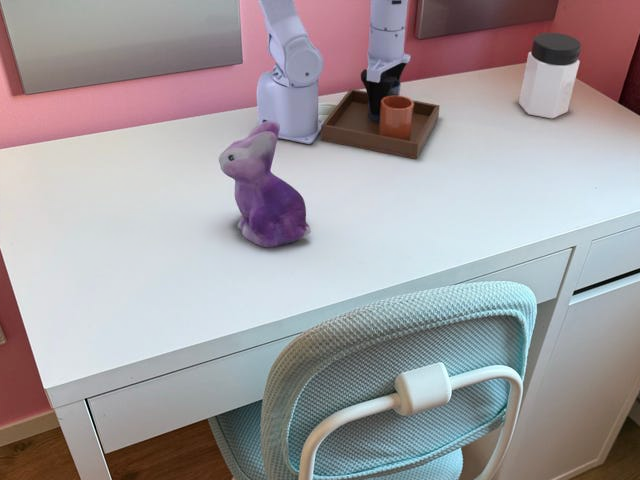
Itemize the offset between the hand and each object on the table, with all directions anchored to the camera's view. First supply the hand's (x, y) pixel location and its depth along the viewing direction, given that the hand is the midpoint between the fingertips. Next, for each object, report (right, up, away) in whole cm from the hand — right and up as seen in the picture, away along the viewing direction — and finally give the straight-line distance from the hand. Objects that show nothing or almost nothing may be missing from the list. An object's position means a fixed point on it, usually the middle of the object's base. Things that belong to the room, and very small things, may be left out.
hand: (382, 107), depth 124 cm
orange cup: (+2, -6, -4) cm, 8 cm away
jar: (+29, +3, +9) cm, 31 cm away
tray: (0, -4, -1) cm, 4 cm away
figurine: (-16, -26, -25) cm, 39 cm away
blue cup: (0, -1, +1) cm, 2 cm away
